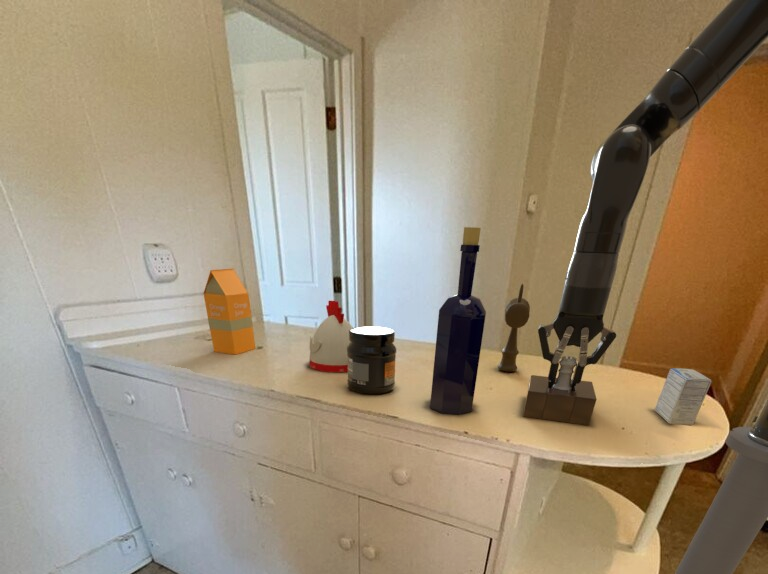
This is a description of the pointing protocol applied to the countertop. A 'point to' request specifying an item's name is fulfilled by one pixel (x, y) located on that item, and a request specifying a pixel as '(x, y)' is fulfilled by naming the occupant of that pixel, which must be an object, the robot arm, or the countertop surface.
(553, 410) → the socket block
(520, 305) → the kendama
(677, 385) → the medicine box
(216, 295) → the orange juice
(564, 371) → the rook chess piece
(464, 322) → the bottle
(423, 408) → the countertop surface
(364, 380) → the supplement container
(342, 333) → the kitchen timer
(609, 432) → the countertop surface
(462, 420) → the countertop surface
